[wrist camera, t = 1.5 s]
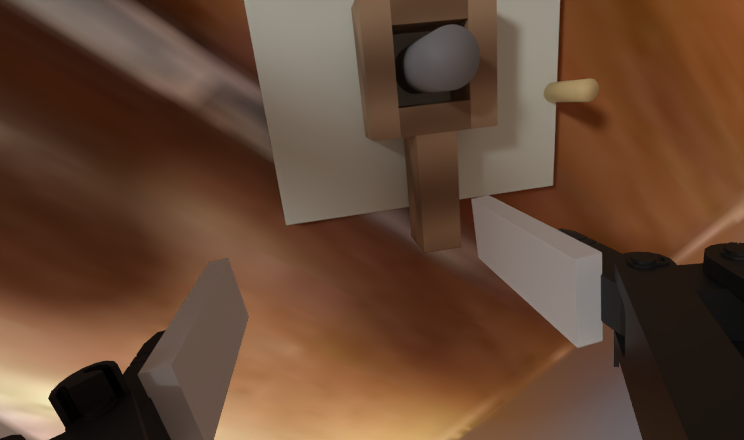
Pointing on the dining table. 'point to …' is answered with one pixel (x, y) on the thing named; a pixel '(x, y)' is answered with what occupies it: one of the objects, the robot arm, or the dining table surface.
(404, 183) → the post board
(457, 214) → the wooden frame with handle
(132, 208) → the dining table surface
